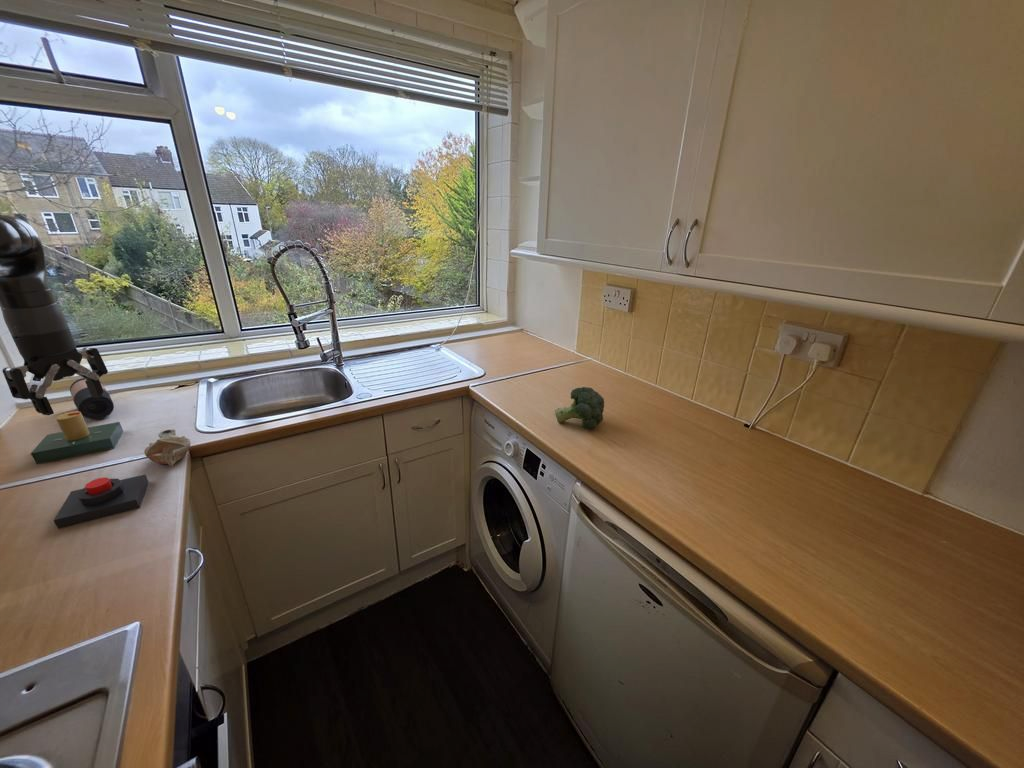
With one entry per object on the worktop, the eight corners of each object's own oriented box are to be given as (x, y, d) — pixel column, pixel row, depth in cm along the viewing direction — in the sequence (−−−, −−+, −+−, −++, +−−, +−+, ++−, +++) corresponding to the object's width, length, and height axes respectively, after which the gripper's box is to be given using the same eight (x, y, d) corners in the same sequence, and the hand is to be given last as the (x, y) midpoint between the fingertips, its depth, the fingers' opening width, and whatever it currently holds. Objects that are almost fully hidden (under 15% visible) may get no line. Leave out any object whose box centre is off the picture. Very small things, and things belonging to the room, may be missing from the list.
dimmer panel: (36, 464, 96) (30, 452, 95) (51, 444, 104) (46, 434, 103) (114, 448, 103) (109, 437, 102) (123, 431, 111) (119, 421, 110)
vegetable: (557, 402, 127) (603, 386, 122) (567, 441, 122) (615, 426, 118) (544, 392, 117) (593, 375, 112) (554, 435, 112) (606, 418, 107)
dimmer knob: (63, 442, 100) (52, 419, 97) (69, 434, 103) (58, 412, 101) (87, 437, 102) (77, 415, 99) (92, 430, 105) (82, 408, 103)
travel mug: (80, 423, 114) (72, 403, 126) (118, 416, 119) (106, 397, 131) (73, 397, 111) (66, 379, 123) (111, 392, 117) (101, 375, 129)
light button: (85, 497, 80) (82, 490, 79) (91, 487, 83) (87, 480, 82) (110, 491, 82) (106, 484, 81) (114, 482, 85) (111, 475, 84)
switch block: (58, 529, 77) (48, 512, 75) (75, 499, 85) (67, 484, 83) (139, 508, 83) (133, 492, 81) (148, 482, 91) (142, 467, 89)
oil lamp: (148, 484, 90) (132, 446, 86) (149, 444, 105) (136, 410, 101) (196, 470, 95) (183, 433, 91) (190, 434, 110) (179, 401, 106)
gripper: (69, 318, 84) (98, 389, 90) (-28, 337, 71) (14, 418, 77) (97, 321, 83) (125, 393, 89) (4, 340, 70) (44, 423, 76)
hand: (73, 405), depth 83 cm, fingers open, 8 cm apart
